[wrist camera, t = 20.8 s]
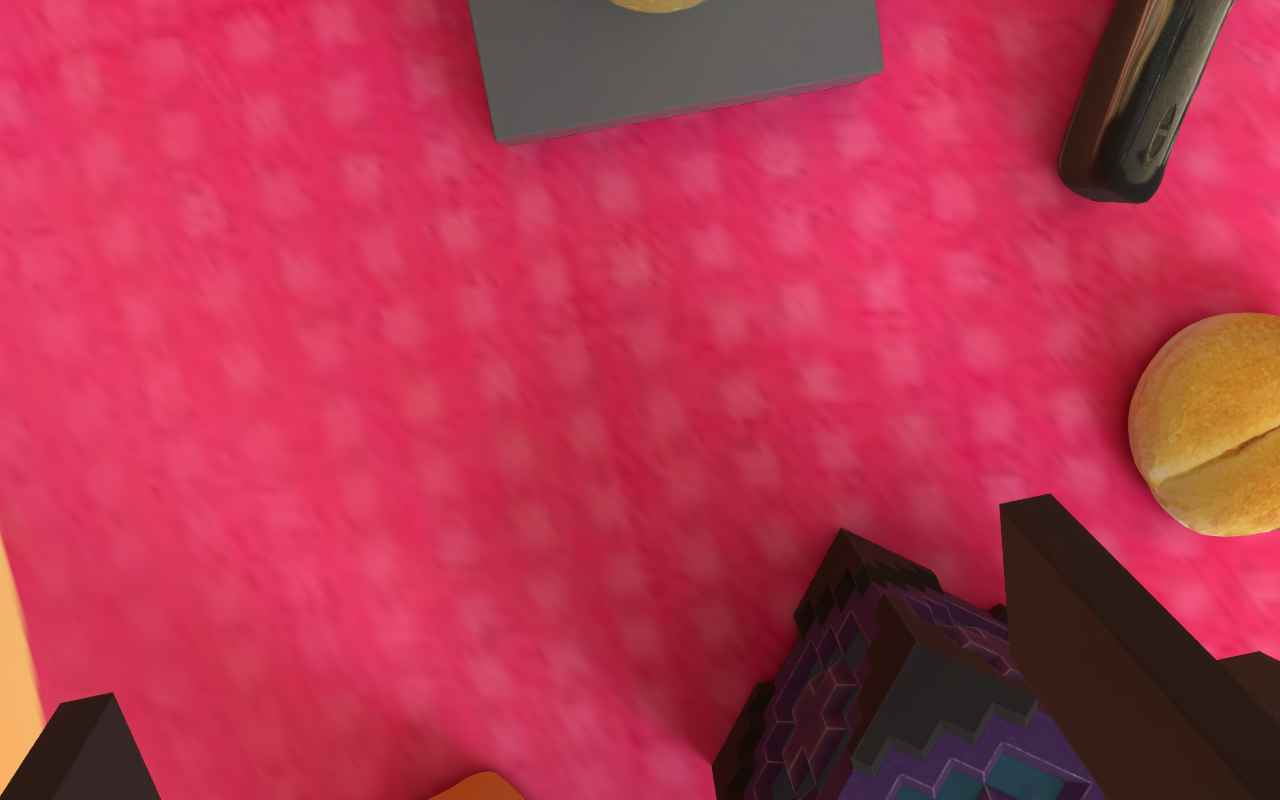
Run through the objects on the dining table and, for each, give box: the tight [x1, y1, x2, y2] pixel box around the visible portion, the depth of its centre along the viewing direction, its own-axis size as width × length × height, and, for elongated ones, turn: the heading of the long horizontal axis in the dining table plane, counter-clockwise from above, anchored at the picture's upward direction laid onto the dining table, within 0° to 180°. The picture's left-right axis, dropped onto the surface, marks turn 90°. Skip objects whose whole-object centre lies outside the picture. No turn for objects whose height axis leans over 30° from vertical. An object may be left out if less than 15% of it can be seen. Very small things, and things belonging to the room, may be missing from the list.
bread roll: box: [1128, 312, 1280, 537], centre depth 43 cm, size 8×9×4 cm
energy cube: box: [712, 528, 1108, 800], centre depth 41 cm, size 12×12×12 cm
